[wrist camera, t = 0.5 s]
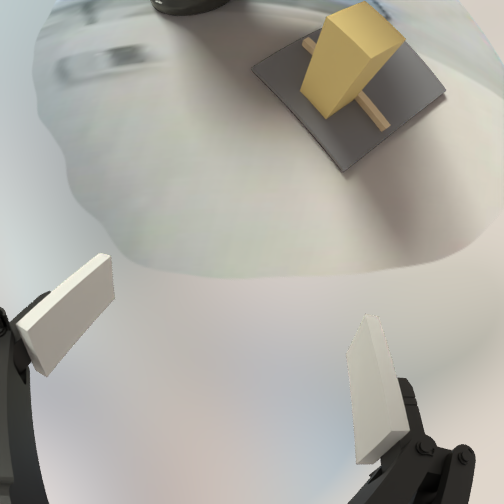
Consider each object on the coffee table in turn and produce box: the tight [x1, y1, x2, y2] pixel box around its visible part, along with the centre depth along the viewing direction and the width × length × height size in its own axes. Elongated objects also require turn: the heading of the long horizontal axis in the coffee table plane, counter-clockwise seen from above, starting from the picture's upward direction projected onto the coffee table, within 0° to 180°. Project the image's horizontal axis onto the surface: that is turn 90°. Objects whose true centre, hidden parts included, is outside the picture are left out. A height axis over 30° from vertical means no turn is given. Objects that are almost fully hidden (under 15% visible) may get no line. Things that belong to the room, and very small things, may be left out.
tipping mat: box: [252, 28, 446, 172], centre depth 31 cm, size 24×18×2 cm
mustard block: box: [300, 1, 406, 119], centre depth 24 cm, size 5×5×16 cm
